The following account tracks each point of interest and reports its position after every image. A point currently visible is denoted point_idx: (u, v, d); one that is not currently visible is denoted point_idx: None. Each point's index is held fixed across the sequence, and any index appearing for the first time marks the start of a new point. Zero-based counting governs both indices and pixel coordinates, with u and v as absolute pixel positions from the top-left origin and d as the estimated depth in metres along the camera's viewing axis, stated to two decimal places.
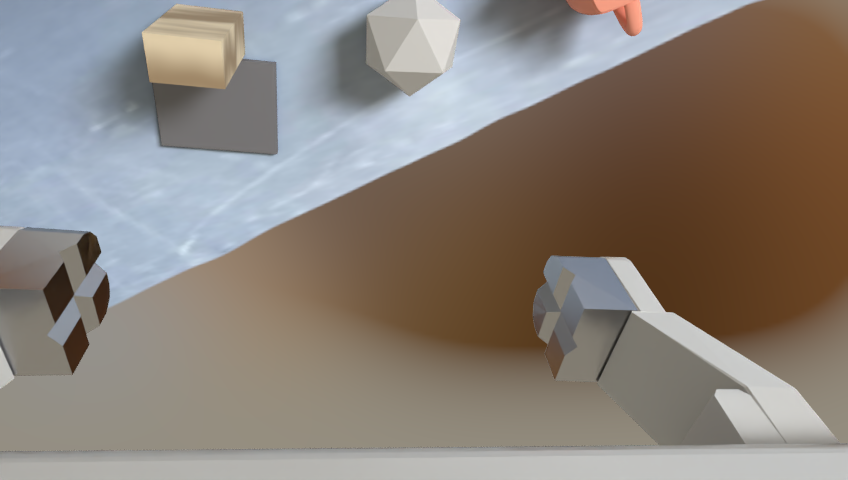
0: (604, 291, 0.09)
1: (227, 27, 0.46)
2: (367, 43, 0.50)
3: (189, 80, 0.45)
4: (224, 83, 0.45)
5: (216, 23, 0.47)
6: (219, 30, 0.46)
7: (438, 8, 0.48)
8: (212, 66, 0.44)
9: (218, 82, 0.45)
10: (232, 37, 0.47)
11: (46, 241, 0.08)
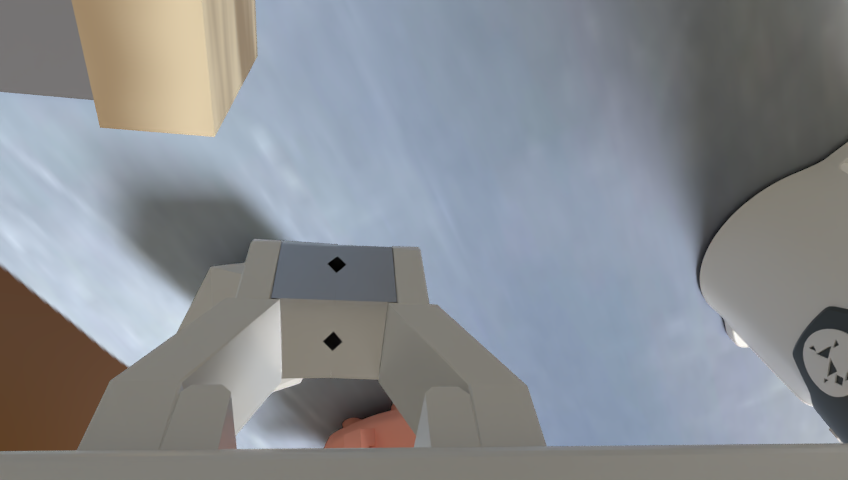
0: (369, 282, 0.09)
1: (234, 92, 0.23)
2: None
3: (97, 50, 0.18)
4: (114, 126, 0.20)
5: (237, 59, 0.23)
6: (229, 89, 0.22)
7: None
8: (150, 109, 0.19)
9: (113, 115, 0.19)
10: None
11: (311, 253, 0.09)
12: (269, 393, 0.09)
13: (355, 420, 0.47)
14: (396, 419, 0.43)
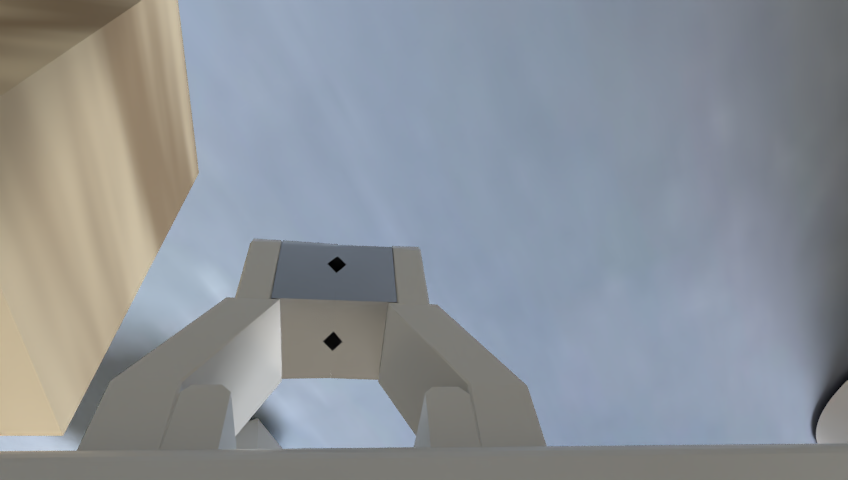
0: (369, 282, 0.09)
1: (134, 285, 0.13)
2: None
3: None
4: None
5: (140, 224, 0.13)
6: (116, 296, 0.12)
7: None
8: None
9: None
10: None
11: (311, 254, 0.09)
12: (269, 393, 0.09)
13: None
14: None
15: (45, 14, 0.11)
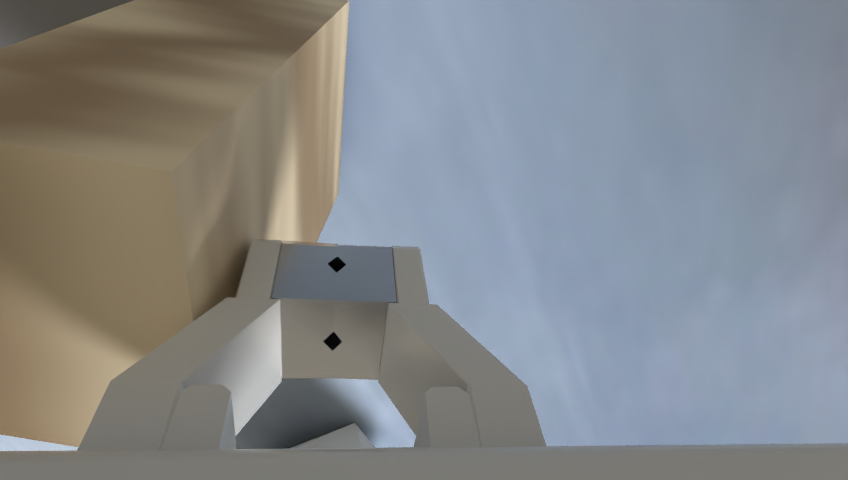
0: (369, 282, 0.09)
1: None
2: None
3: None
4: None
5: None
6: None
7: None
8: (84, 418, 0.09)
9: (13, 420, 0.09)
10: None
11: (311, 254, 0.09)
12: (269, 393, 0.09)
13: None
14: None
15: (242, 35, 0.11)
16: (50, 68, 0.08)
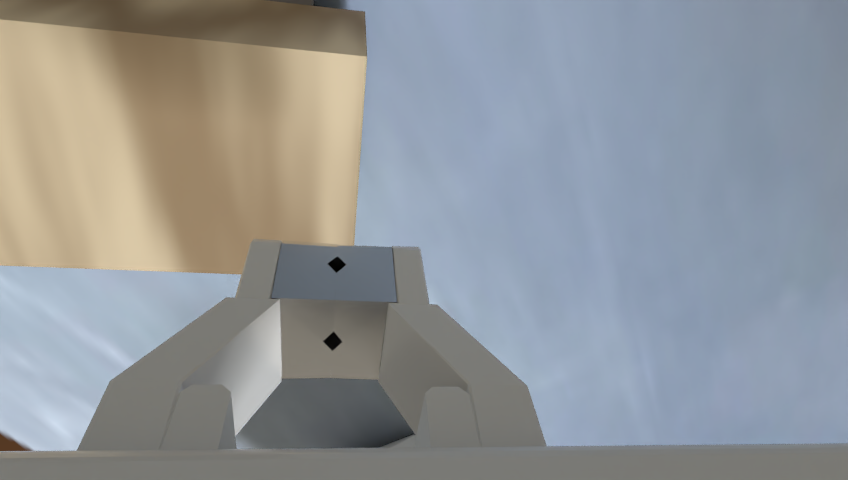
0: (369, 282, 0.09)
1: (109, 261, 0.14)
2: None
3: None
4: None
5: (144, 226, 0.13)
6: (66, 244, 0.13)
7: None
8: None
9: None
10: None
11: (311, 254, 0.09)
12: (269, 393, 0.09)
13: None
14: None
15: (153, 18, 0.12)
16: None
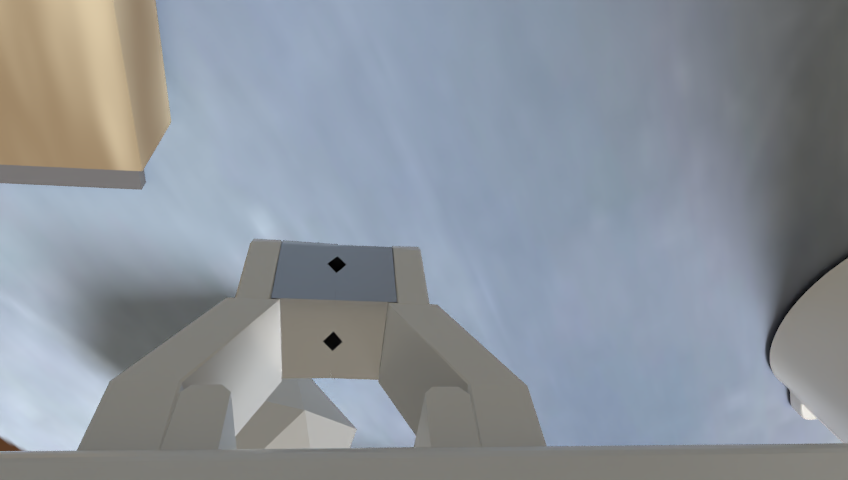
0: (369, 282, 0.09)
1: None
2: None
3: None
4: None
5: None
6: None
7: None
8: None
9: None
10: None
11: (311, 254, 0.09)
12: (269, 393, 0.09)
13: None
14: None
15: None
16: None
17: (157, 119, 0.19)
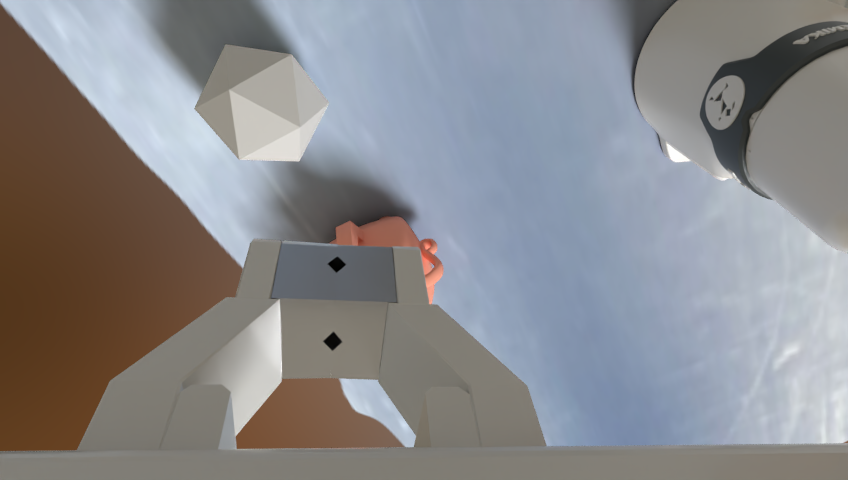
0: (369, 282, 0.09)
1: None
2: (254, 50, 0.39)
3: None
4: None
5: None
6: None
7: (308, 137, 0.42)
8: None
9: None
10: None
11: (311, 254, 0.09)
12: (268, 393, 0.09)
13: None
14: (381, 223, 0.51)
15: None
16: None
17: None
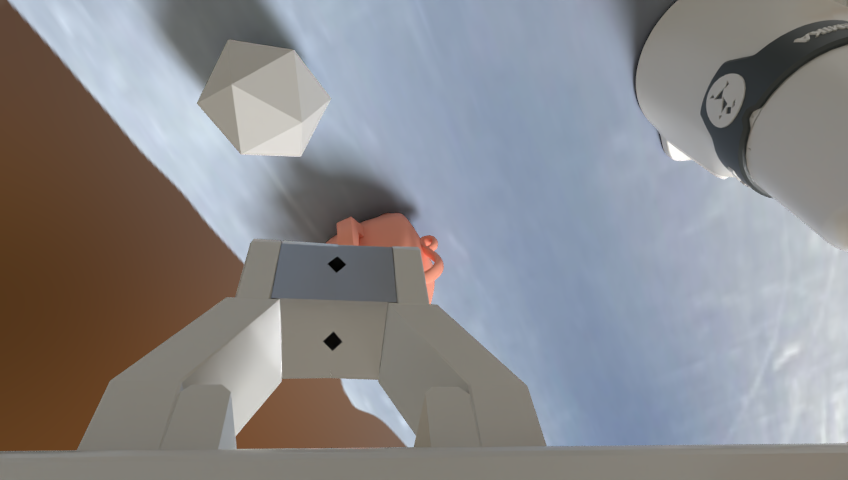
0: (369, 282, 0.09)
1: None
2: (257, 45, 0.39)
3: None
4: None
5: None
6: None
7: (310, 132, 0.42)
8: None
9: None
10: None
11: (311, 254, 0.09)
12: (269, 393, 0.09)
13: None
14: (382, 219, 0.51)
15: None
16: None
17: None
